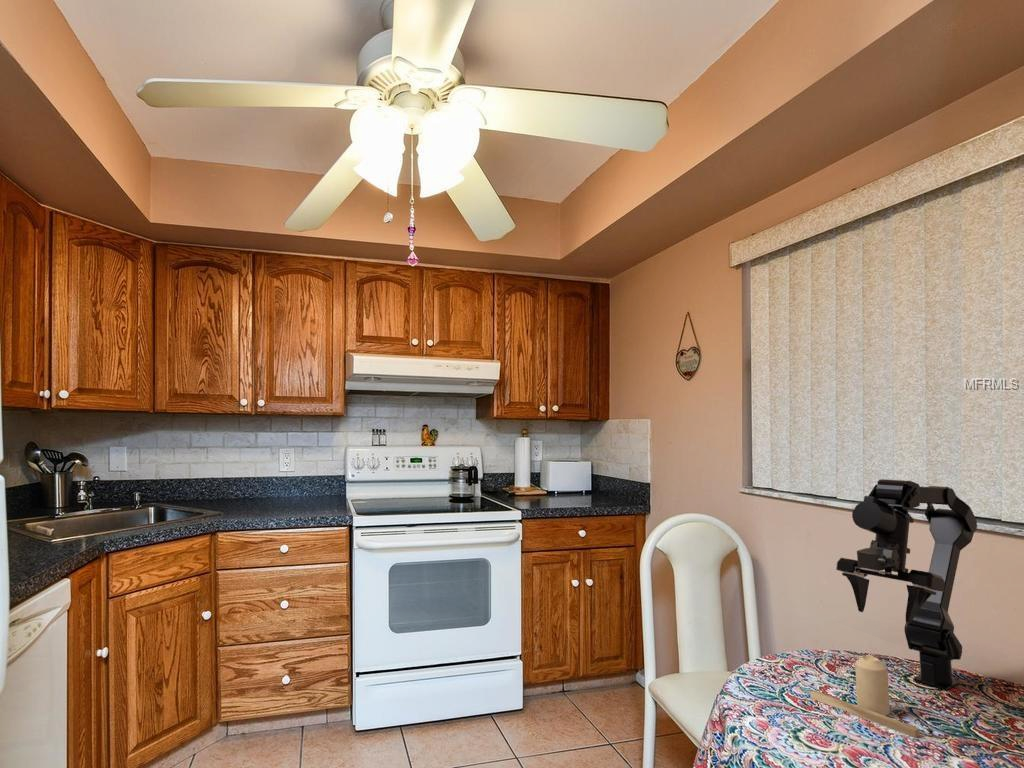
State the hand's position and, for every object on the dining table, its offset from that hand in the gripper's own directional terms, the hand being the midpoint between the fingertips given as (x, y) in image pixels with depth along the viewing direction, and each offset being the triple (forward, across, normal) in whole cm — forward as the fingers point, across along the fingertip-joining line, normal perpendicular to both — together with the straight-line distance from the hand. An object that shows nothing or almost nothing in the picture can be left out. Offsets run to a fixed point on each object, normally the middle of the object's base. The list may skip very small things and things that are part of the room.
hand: (883, 617), depth 126 cm
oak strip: (+19, 0, -4) cm, 19 cm away
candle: (+18, 0, 0) cm, 18 cm away
